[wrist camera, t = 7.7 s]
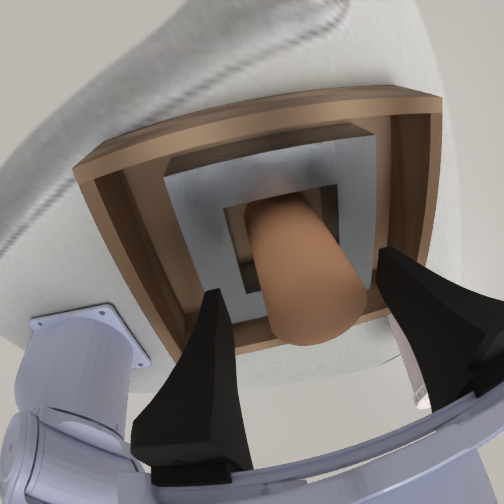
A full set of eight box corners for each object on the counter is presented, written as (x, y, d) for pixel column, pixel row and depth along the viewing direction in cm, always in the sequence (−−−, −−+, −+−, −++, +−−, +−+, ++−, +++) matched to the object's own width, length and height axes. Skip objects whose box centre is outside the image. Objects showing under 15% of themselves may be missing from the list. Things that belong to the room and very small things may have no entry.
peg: (252, 251, 19) (279, 355, 13) (236, 195, 17) (259, 291, 10) (313, 234, 19) (365, 328, 12) (304, 177, 17) (368, 259, 10)
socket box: (179, 317, 22) (177, 365, 19) (103, 141, 14) (72, 168, 11) (388, 266, 22) (415, 305, 19) (394, 85, 14) (442, 97, 11)
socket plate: (216, 295, 21) (218, 326, 18) (170, 158, 15) (163, 177, 13) (353, 262, 21) (370, 288, 18) (350, 122, 15) (375, 135, 13)
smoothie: (361, 324, 26) (421, 457, 15) (407, 273, 23) (493, 408, 12) (398, 334, 29) (453, 445, 17) (439, 292, 26) (510, 402, 14)
